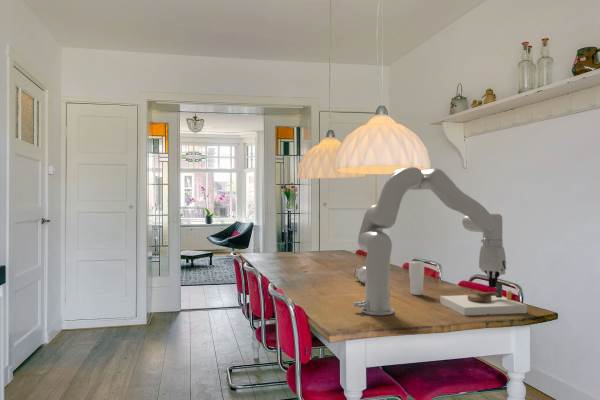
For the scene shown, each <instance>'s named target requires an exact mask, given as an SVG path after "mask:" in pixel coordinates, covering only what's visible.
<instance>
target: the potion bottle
mask: <svg viewBox="0 0 600 400" xmlns="http://www.w3.org/2000/svg"><path fill="white" fill-rule="evenodd" d="M353 278H355V279H357V280H358V281H359V282H361V283H362V284H364V285H365V265H363V266H361V267H360V268H356V269H355V271H354V275H353Z"/></svg>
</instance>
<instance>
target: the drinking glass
mask: <svg viewBox="0 0 600 400" xmlns="http://www.w3.org/2000/svg"><path fill="white" fill-rule="evenodd" d="M408 273H409V274H408V275H409V283H410V284H409V287H410V294H411V296H413V295H414V296H421V295H423V288H424V277H425V262H424V261H421V260H411V261H408Z"/></svg>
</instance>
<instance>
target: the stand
mask: <svg viewBox="0 0 600 400" xmlns="http://www.w3.org/2000/svg"><path fill="white" fill-rule="evenodd" d="M468 295H469V294H467V295H466V294H465V295H464V294H463V295H439V296H440V297H439V299H440V300H439V301H440V304H441V305H442V306H445V307H446V308H447V307H448V308H449V309H451V310H453V311H455V312H456V313H459V314H460V315H463V316H486V315H487V314H489V315H506V314H507V315H511V314H512V315H513V314H527V313H528V305H527V304H524V303H522V302H519V301H517V300H514V299H512V290H506V296H504V295H502V298H498V297H496V296H491V297H492V301H491V302H474V301H470V300H468Z"/></svg>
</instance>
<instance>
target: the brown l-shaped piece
mask: <svg viewBox="0 0 600 400" xmlns="http://www.w3.org/2000/svg"><path fill="white" fill-rule="evenodd" d="M467 295H468V300H470V301H474V302H491V301H492V297H491V296H496V297H498V298H502V296H503V282H501V281H497V282H496V287H495V291H490V292H489V291H487V292H486V291H485V292H477V293H470V294H467Z"/></svg>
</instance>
